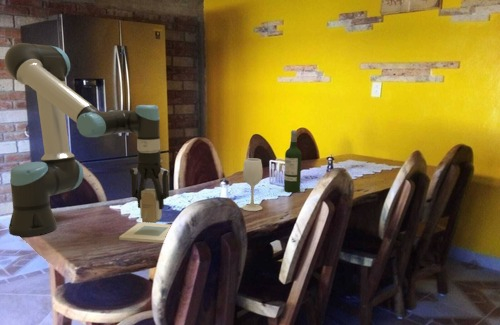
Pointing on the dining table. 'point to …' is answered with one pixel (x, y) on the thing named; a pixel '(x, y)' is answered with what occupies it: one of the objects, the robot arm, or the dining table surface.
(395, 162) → the dining table surface
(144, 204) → the box
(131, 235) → the tile
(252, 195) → the wineglass
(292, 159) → the wine bottle
